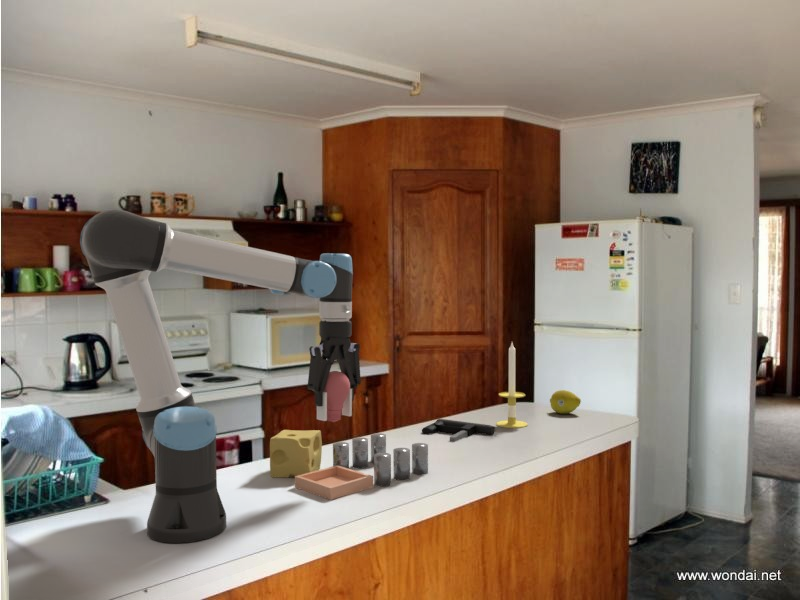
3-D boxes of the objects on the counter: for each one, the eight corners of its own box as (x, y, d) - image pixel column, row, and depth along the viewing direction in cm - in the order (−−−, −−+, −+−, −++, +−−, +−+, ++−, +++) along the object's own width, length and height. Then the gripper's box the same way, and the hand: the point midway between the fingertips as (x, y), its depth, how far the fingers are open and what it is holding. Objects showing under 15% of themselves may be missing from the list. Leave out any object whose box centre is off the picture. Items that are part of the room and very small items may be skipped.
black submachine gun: (472, 437, 215) (496, 423, 228) (413, 429, 226) (440, 416, 239) (472, 448, 215) (497, 434, 229) (413, 439, 226) (440, 426, 240)
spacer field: (382, 487, 175) (382, 458, 174) (329, 471, 188) (329, 444, 188) (431, 472, 187) (431, 444, 186) (378, 458, 200) (378, 432, 200)
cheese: (309, 480, 181) (309, 439, 181) (267, 477, 183) (267, 437, 183) (322, 468, 191) (322, 429, 191) (282, 466, 194) (282, 428, 193)
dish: (330, 499, 166) (330, 488, 166) (294, 487, 175) (294, 476, 175) (373, 486, 176) (373, 475, 175) (337, 475, 185) (337, 465, 184)
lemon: (544, 413, 257) (544, 390, 257) (556, 409, 263) (556, 387, 262) (572, 417, 250) (572, 394, 249) (584, 414, 255) (584, 390, 255)
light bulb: (356, 422, 175) (356, 371, 175) (333, 426, 170) (334, 374, 170) (335, 417, 180) (336, 368, 180) (312, 421, 175) (313, 370, 174)
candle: (496, 420, 246) (496, 339, 244) (527, 421, 244) (527, 339, 243) (495, 427, 236) (496, 342, 234) (528, 428, 234) (528, 342, 233)
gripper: (312, 322, 164) (311, 426, 165) (377, 319, 179) (376, 414, 180) (291, 320, 170) (290, 421, 171) (356, 317, 184) (355, 409, 185)
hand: (334, 417), depth 175 cm, fingers closed on light bulb, 7 cm apart
